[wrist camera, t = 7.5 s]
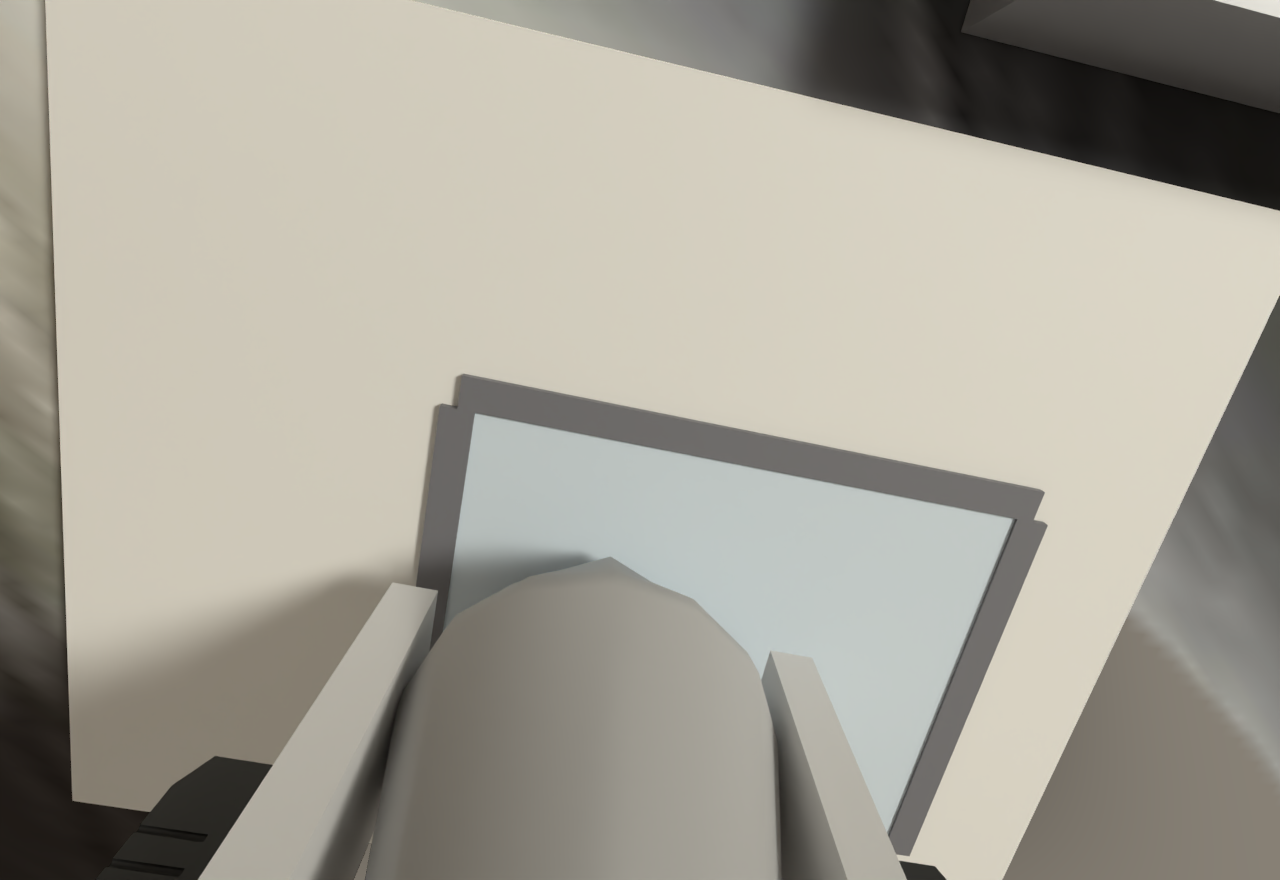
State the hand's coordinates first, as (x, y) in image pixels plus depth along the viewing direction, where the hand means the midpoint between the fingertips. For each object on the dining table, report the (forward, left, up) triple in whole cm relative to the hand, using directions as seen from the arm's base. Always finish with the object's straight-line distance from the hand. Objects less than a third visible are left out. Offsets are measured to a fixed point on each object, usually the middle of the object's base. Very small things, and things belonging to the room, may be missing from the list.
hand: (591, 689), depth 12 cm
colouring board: (0, +2, -2) cm, 3 cm away
